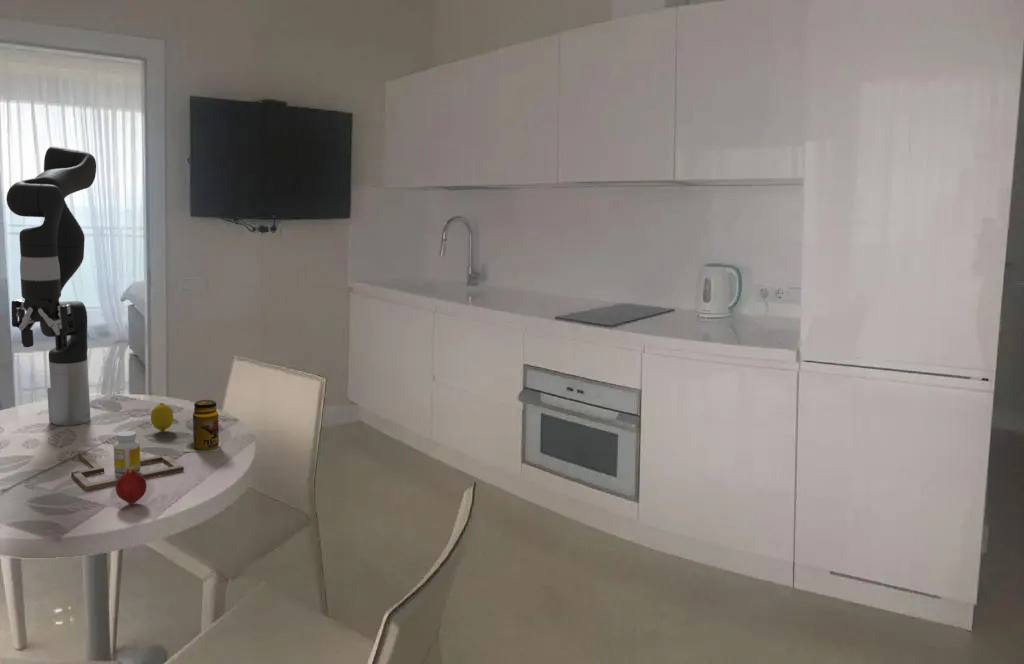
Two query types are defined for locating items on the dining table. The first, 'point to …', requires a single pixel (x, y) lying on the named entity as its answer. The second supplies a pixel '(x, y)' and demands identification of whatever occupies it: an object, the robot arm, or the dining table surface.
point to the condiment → (204, 428)
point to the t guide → (97, 468)
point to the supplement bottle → (126, 453)
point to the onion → (131, 486)
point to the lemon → (162, 417)
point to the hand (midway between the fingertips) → (44, 348)
